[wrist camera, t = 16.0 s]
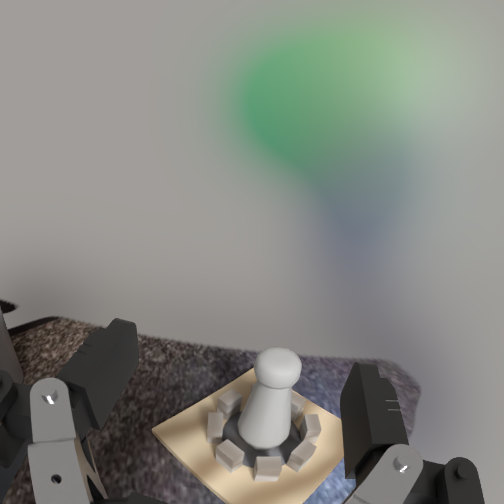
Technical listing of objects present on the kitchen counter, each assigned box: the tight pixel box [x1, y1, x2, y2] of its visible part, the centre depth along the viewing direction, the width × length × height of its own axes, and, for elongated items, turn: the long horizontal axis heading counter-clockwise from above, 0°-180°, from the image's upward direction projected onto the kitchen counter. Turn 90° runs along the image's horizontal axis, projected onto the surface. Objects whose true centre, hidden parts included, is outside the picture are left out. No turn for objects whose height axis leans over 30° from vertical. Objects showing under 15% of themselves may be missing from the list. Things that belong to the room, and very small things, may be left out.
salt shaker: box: [238, 347, 302, 451], centre depth 30 cm, size 6×6×13 cm
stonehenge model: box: [152, 368, 344, 504], centre depth 32 cm, size 18×18×4 cm
